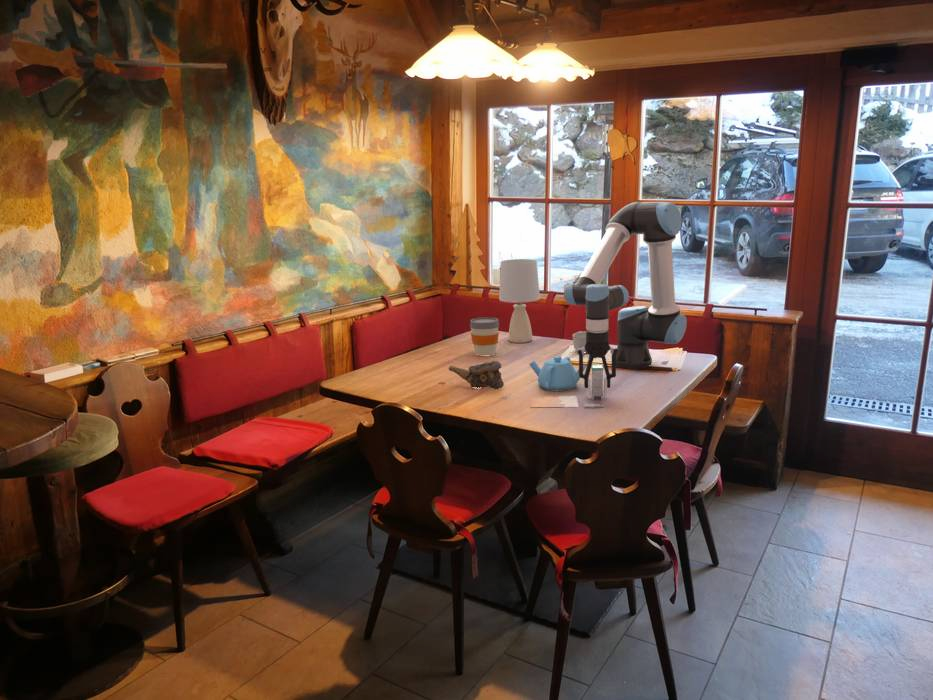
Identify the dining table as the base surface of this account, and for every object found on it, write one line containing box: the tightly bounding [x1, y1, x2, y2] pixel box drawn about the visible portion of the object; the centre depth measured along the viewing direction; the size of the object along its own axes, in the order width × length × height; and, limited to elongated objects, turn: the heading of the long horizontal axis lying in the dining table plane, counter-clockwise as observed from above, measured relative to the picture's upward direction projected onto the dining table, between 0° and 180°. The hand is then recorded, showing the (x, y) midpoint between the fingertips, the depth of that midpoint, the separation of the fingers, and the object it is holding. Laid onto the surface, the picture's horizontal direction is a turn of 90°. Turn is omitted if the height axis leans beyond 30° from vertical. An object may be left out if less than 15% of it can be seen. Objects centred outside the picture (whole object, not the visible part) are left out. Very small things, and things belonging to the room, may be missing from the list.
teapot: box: [529, 355, 587, 392], centre depth 277 cm, size 15×17×11 cm
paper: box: [558, 395, 579, 408], centre depth 259 cm, size 16×12×1 cm
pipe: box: [448, 360, 504, 390], centre depth 280 cm, size 9×22×10 cm, turn 73°
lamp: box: [498, 258, 541, 344], centre depth 350 cm, size 19×19×37 cm
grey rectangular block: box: [591, 364, 604, 401], centre depth 259 cm, size 4×4×12 cm
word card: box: [583, 402, 604, 409], centre depth 253 cm, size 6×4×1 cm, turn 86°
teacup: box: [572, 330, 588, 352], centre depth 328 cm, size 14×11×8 cm
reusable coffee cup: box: [469, 317, 500, 356], centre depth 329 cm, size 13×13×15 cm
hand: (597, 396), depth 260 cm, fingers open, 5 cm apart
